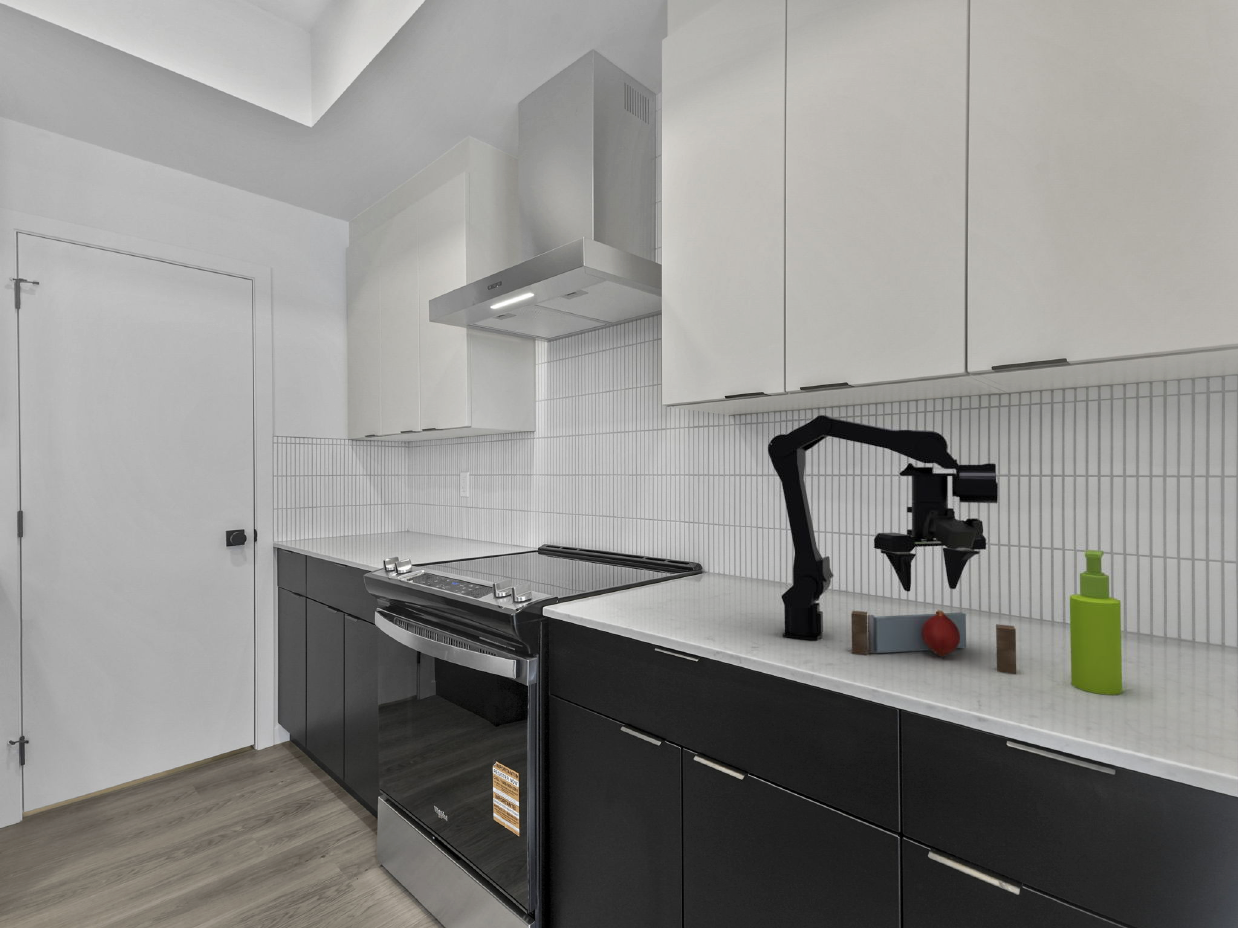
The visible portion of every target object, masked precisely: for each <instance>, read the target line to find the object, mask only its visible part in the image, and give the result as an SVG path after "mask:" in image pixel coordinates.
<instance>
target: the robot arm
mask: <svg viewBox="0 0 1238 928" xmlns="http://www.w3.org/2000/svg"><path fill="white" fill-rule="evenodd" d="M828 437H830V438H835V439H841V440H846V441H849V442H854V443H859V444H864V445H867V446H868V445H869V446H874V447H878V448H883V449H888V450H890V451H892V452H895V453H897V454H899V455H902V456H905V457H907V458H910V459H912V460H915V461H917V462H919V463H922V464H936V465H937V466H939V467H941V468H942V469H944V470H955V472H948V473H947V472H945V473H944V472H935V471H934V467H933V466H915V465H914V464H913V463H911V462H909V463H908V464H907V465H906V467H905V468H903V470H901V471H900V472H899V475H900V476H901V477H911V506H907V507H906V513H909V514H910V513H911V529H906V534H905V533H900V532H877V534H876V536H875V537H874V539H873V549H877V550H880V554H884V555H885V556H886V559H888V561H889V563H890V564H891V566H892V568H893V569H894V571H895V574H896V576H897V578H898V580H899V583H900V584H901V587H902V589H903V590H904V592H911V589H912V588H911V585H912V563H913V560H914V559H915V557H916V555H917V553H912V552H913V550H914V549H915V548H917V547H921V548H922V547H923V548H924V547H925V548H926V547H942V554H943V559H944V565H945V574H946V580H947V583H948V587H949V589H951V590H956V589H957V586H958V584H959V581H960V579H961V577H962V574H963V571H964V568H965V567H966V565H967V563H968V561H969V560H971V559H972V558H973V557H974V556H976V555H979V554H980V553H981V550H982V551H983V550H987V538H986V537H985V536H984V524H983V521H982V520H981V519H979V518H975V517H974V518H967V519H966V520H961V519H960V520H959V519H956V515H955V510H954V508H952V507H951V508H950V507H949V480H948V479H949V477H951V493H952V495H951V496H952V497H954V498H955V497H956V498H959V503H960V504H961V503H963V504H964V503H969V504H970V503H971V504H998V501H999V499H998V497H999V494H998V493H999V492H998V491H999V489H998V488H999V485H998V483H999V482H997V467H996V466H997V464H996V463H993V462H992V463H990V462H989V463H983V464H982V463H981V464H959V462H958V459H957V458H956V459H955V458H954V457H953V456H952V455H951V453H949V452H948V449H949V444H948V442H947V441H948V440H946V438H945V437H944V436H943V435H942V434H941V433H939V432H937V431H933V430H923V429H922V430H921V429H920V430H919V429H892V428H885V427H880V426H875V425H870V424H867V423H866V424H865V423H861V422H855V421H850V420H845V419H840V418H837V417H836V418H835V417H832V416H830V415H826V414H820V415H817V416H816V417H815V418H814V419H812V420H810V421H808V422H807V423H805V424H803V425H800V426H799V427H797V428H795V429H793V430H791V431H790V432H789V433H788V432H787V434H785V433H781V434H777V435H775V436H774V437H772V439H771V440H770V442H769V443H768V444H767V452H768V456H769V458H770V459H769V460H770V461H771V463H772V466H773V468H774V470H775V473H776V474H777V476H778V478H779V480H780V482H781V486H782V491H783V492H782V493H783V496H784V503H785V507H786V512H787V517H788V518H787V519H788V523H789V528H790V533H791V539H792V540H791V541H792V543H793V551H794V557H793V565H792V586H791V587H789V588H788V589H787V590H786V591H785V592H784V593H783V594H781V600H782V602H783V607H784V610H783V611H784V613H783V615H784V631H783V633H782V637H784V638H790V639H791V638H794V639H801V640H810V641H817V640H819V639H820V636H822V634H823V633H824V612H823V611H822V610H821V604H820V602H817V601H819V600H820V597H821V596H822V595H824V594H825V593H826V592H827V591H828V589H829V588H830V586H831V583H832V582H831V579H832V578H833V577H835V576H834V574H833V572H832V570H831V565H830V564H831V563H830V562H831V560H830V559H831V558H830V556H829V555H828V556H824V557H823V556H822V555H821V552H820V551H819V549H818V545H817V541H816V536H815V529H814V526H813V525H814V524H813V519H812V516H811V514H812V513H811V510H810V504H809V501H808V500H809V499H808V494H807V489H806V483H805V480H804V479H805V472H806V470H805V469H806V452H807V451H809V450H810V449H812V448H814V447H816V445H818V444H819V443H821V442H822V441H823V440H824V439H826V438H828Z"/></svg>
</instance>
